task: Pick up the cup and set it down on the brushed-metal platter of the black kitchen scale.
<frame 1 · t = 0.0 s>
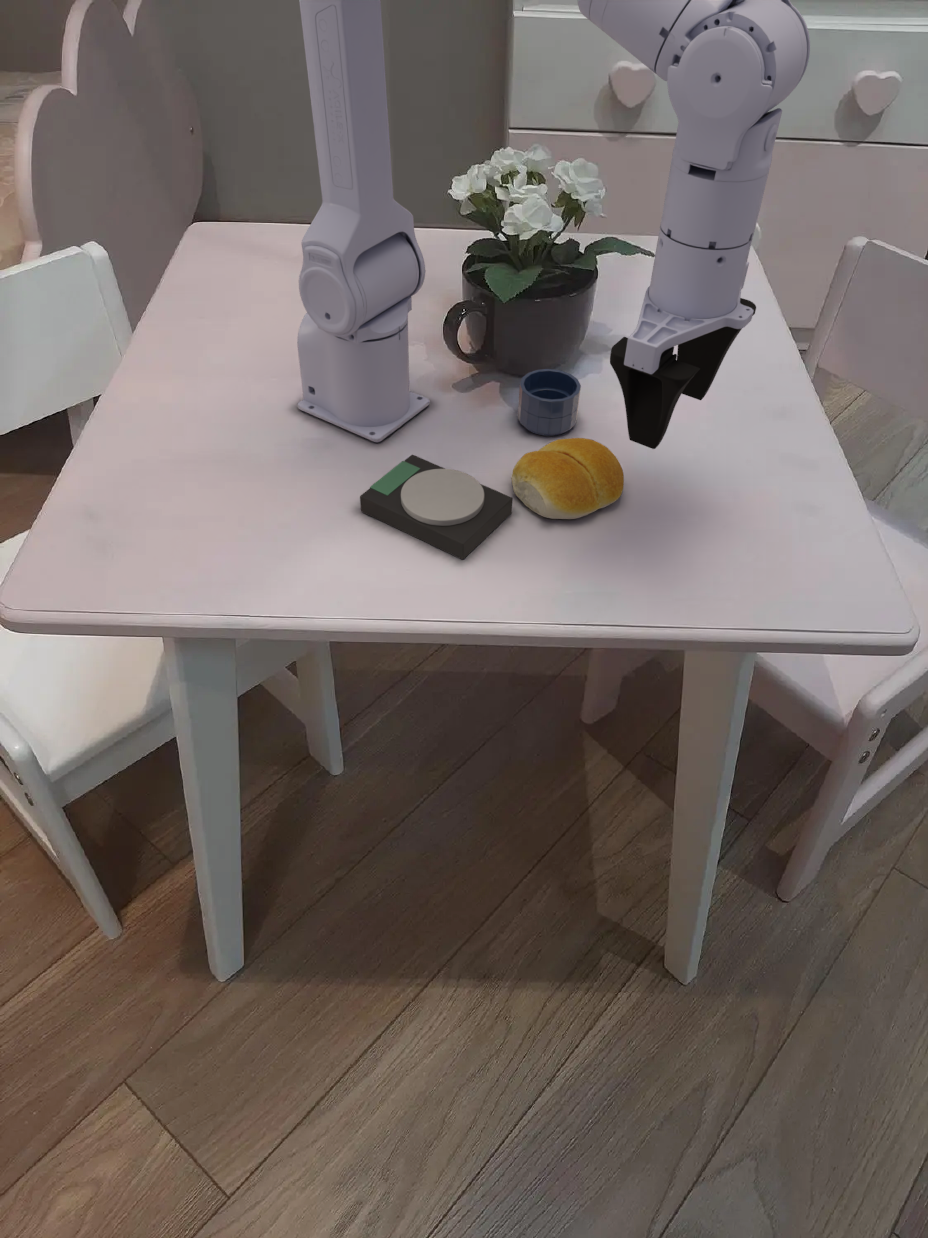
hand: (667, 417, 68), 10 cm above the table, tool pointing down, fingers open, 7 cm apart
scale: (436, 512, 76), on the table
bread roll: (565, 493, 78), on the table
cup: (546, 421, 85), on the table
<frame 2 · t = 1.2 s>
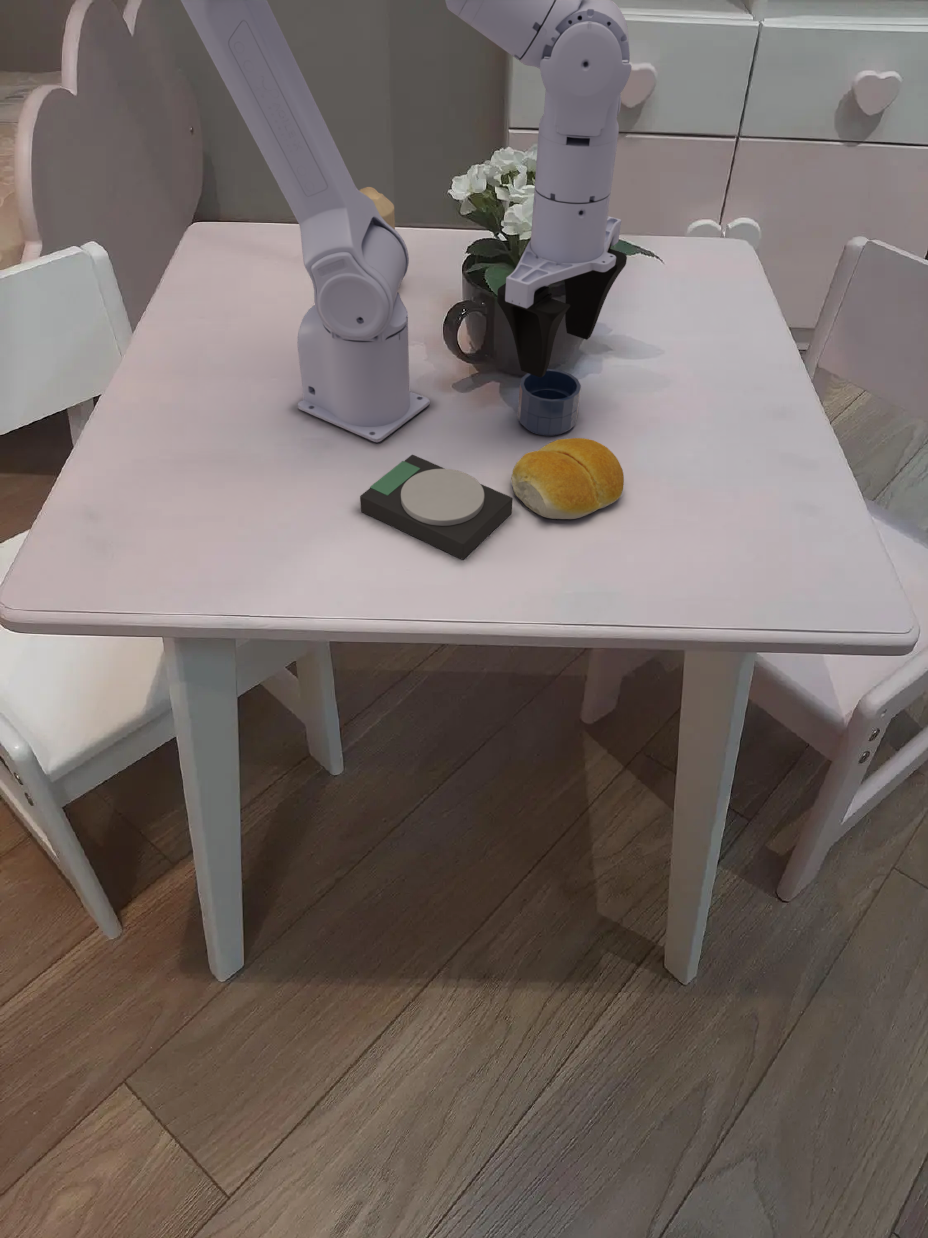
hand: (556, 353, 80), 7 cm above the table, tool pointing down, fingers open, 7 cm apart
nothing on the table moved.
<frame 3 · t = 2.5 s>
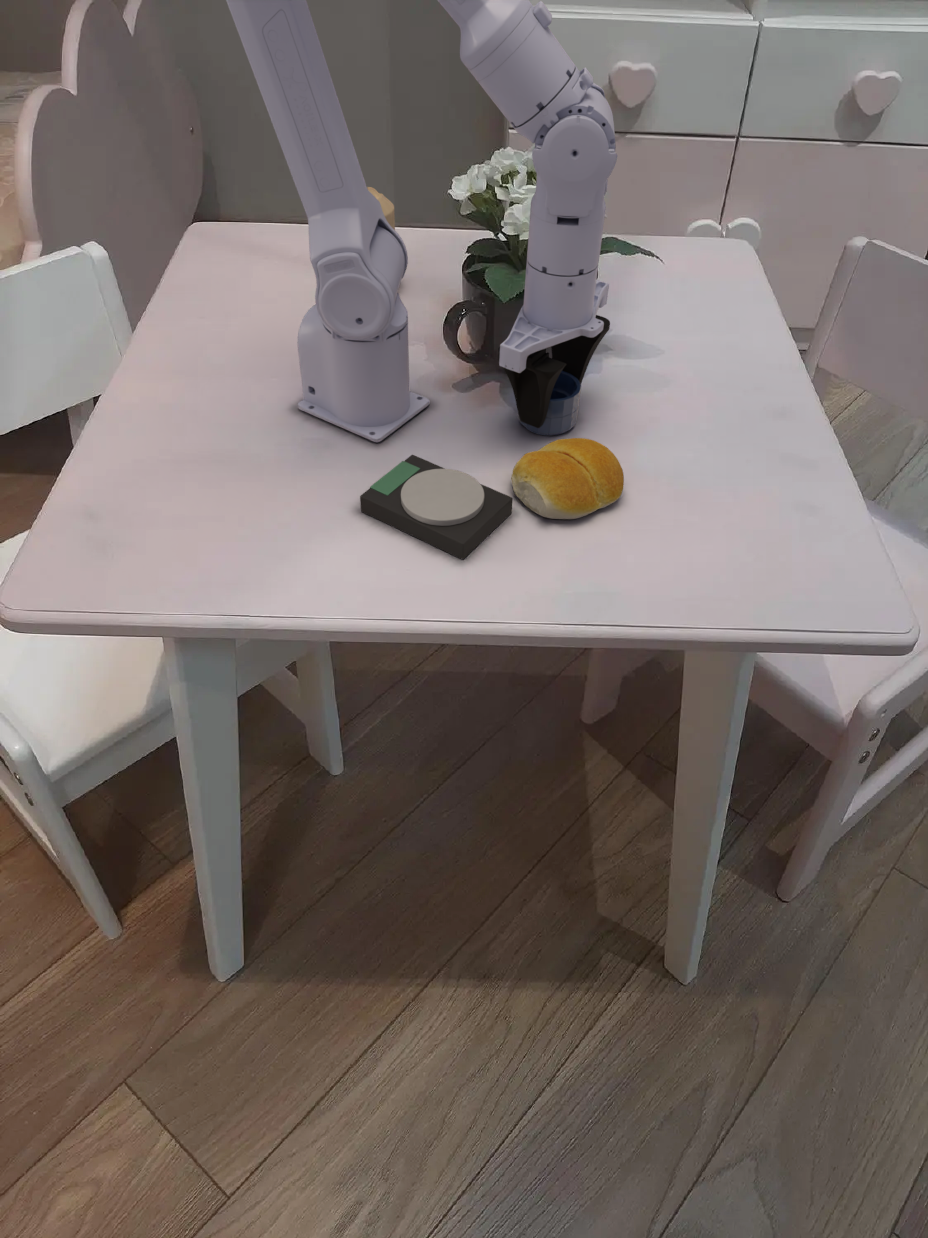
hand: (548, 408, 84), 1 cm above the table, tool pointing down, fingers closed on cup, 5 cm apart
cup: (546, 421, 85), on the table, touching gripper
everything else where it was.
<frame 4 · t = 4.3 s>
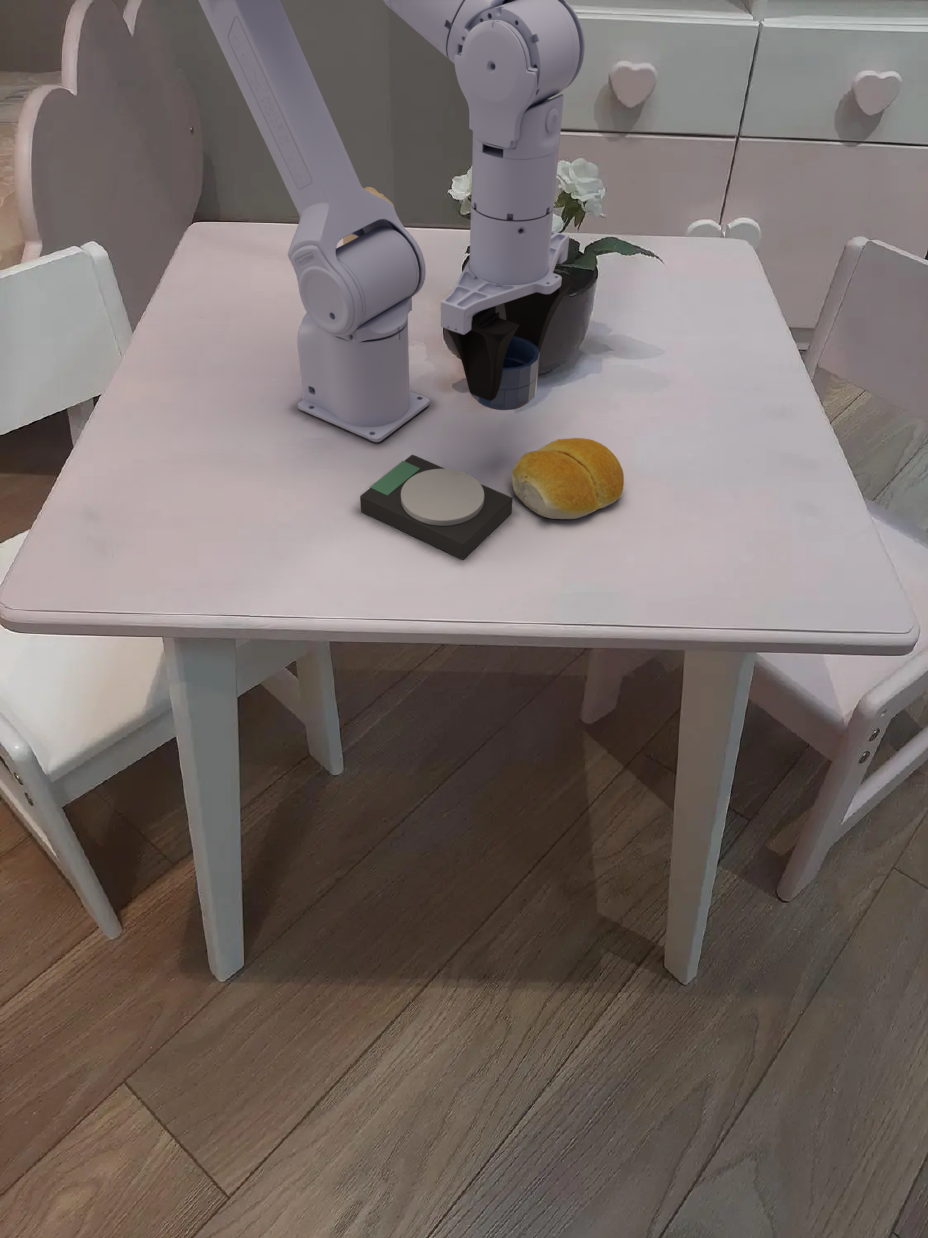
hand: (502, 379, 74), 8 cm above the table, tool pointing down, fingers closed on cup, 5 cm apart
cup: (502, 394, 75), point 7 cm above the table, touching gripper
everything else where it was.
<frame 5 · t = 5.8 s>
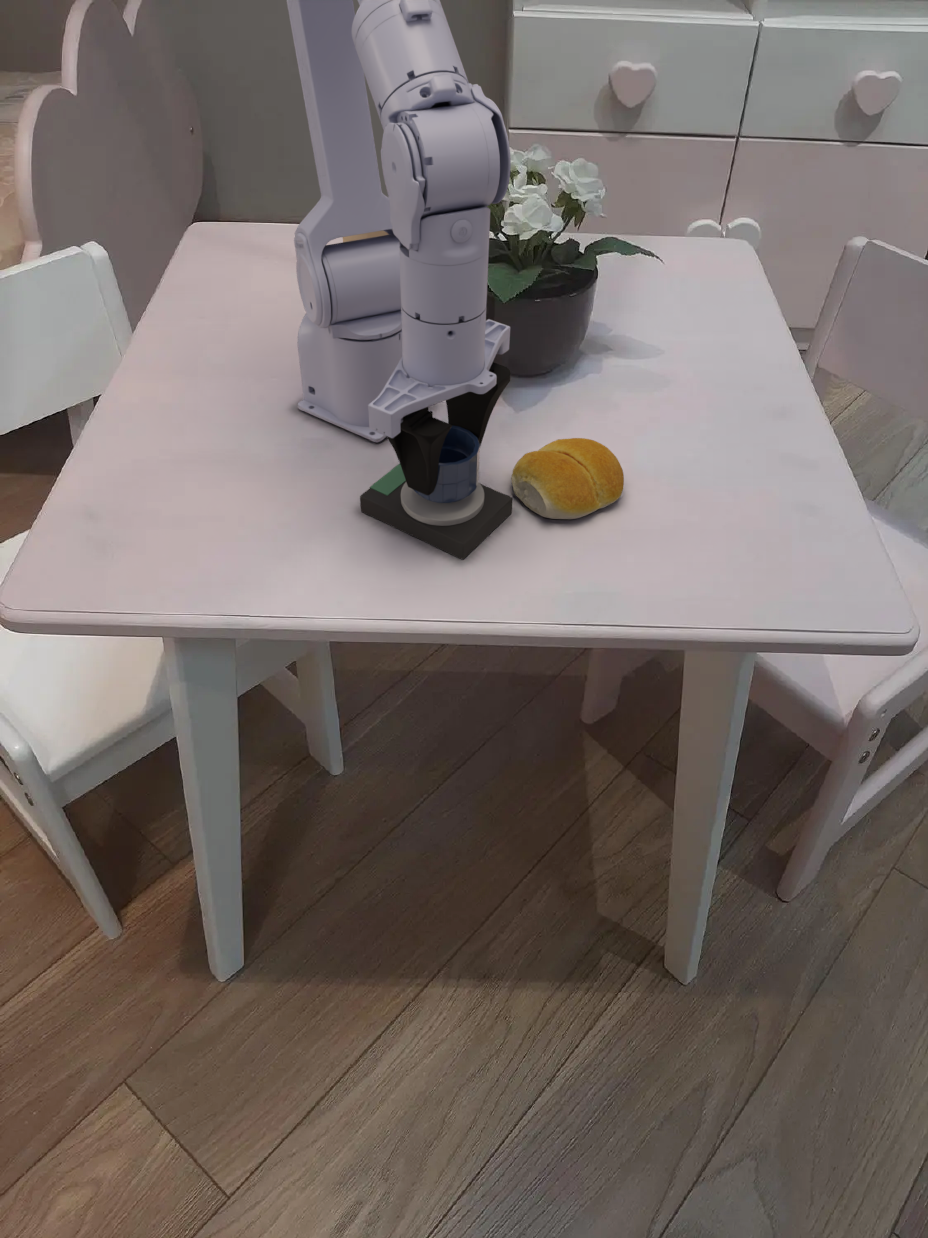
hand: (442, 470, 72), 4 cm above the table, tool pointing down, fingers closed on cup, 5 cm apart
cup: (443, 484, 73), point 3 cm above the table, touching gripper
everything else where it was.
when the fingers open (4 cm above the table, at t = 6.6 s): cup stays where it is, resting on scale.
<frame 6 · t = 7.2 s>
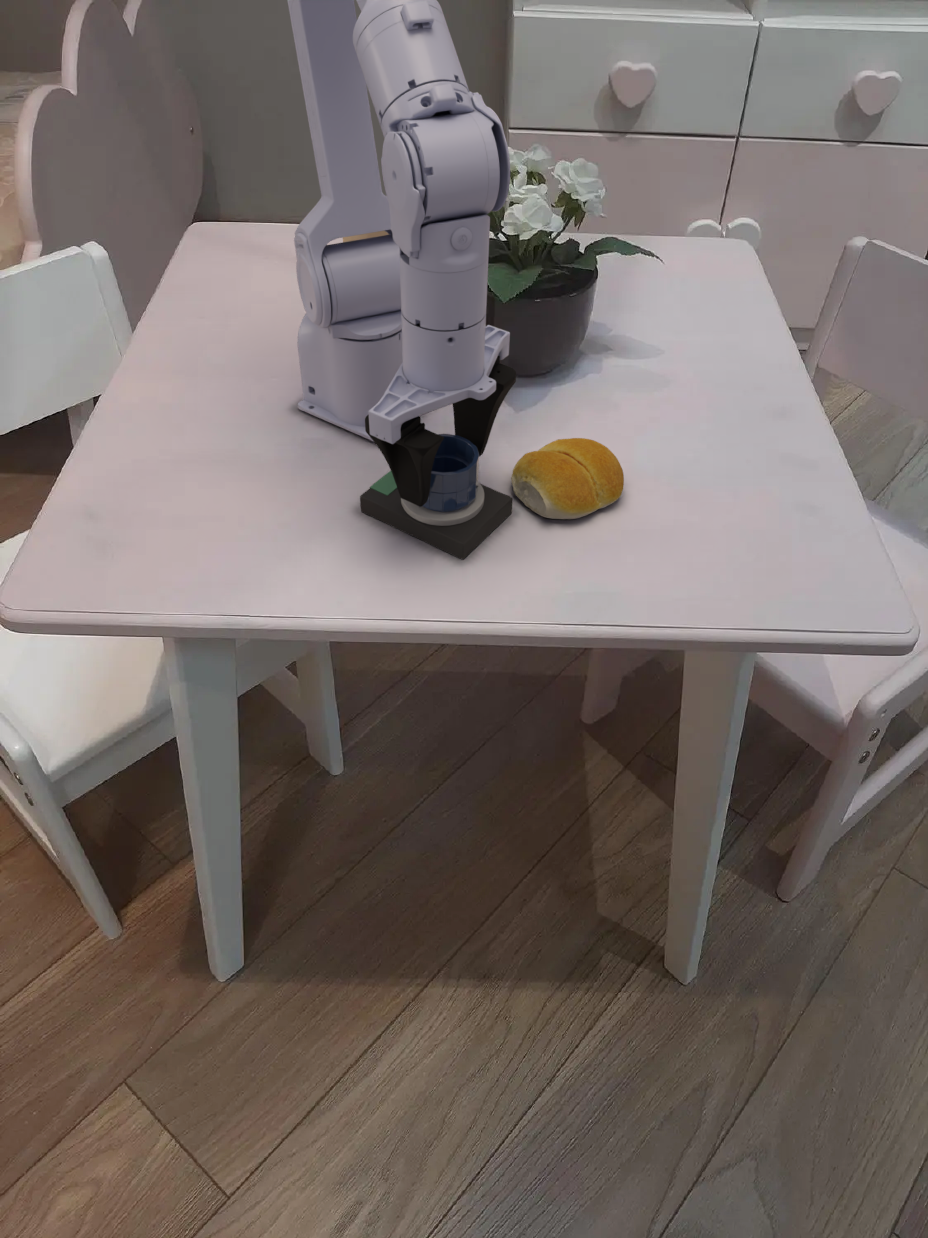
hand: (442, 474, 72), 4 cm above the table, tool pointing down, fingers open, 7 cm apart
cup: (443, 493, 74), point 2 cm above the table, touching scale
everything else where it was.
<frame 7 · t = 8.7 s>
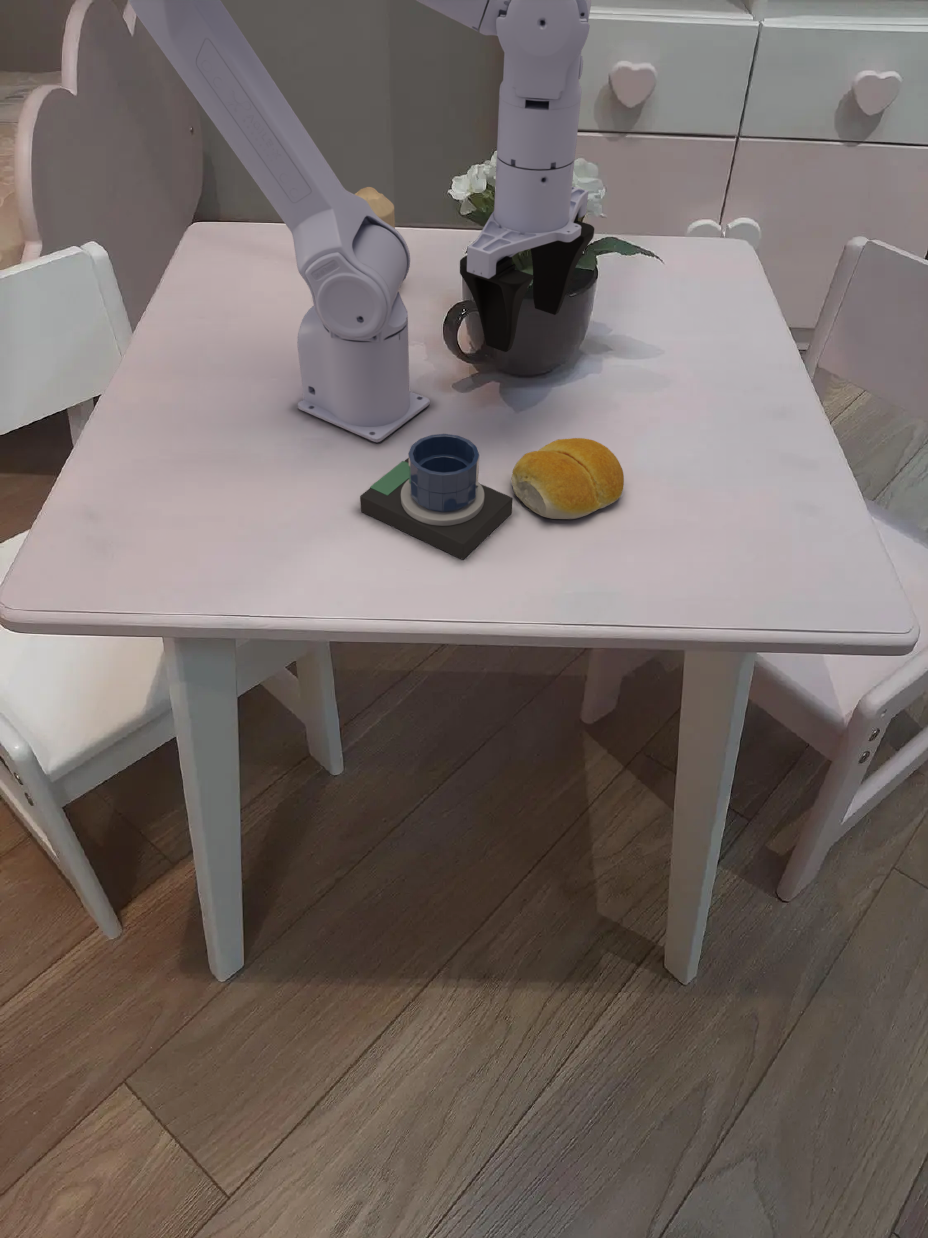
hand: (523, 328, 78), 9 cm above the table, tool pointing down, fingers open, 7 cm apart
nothing on the table moved.
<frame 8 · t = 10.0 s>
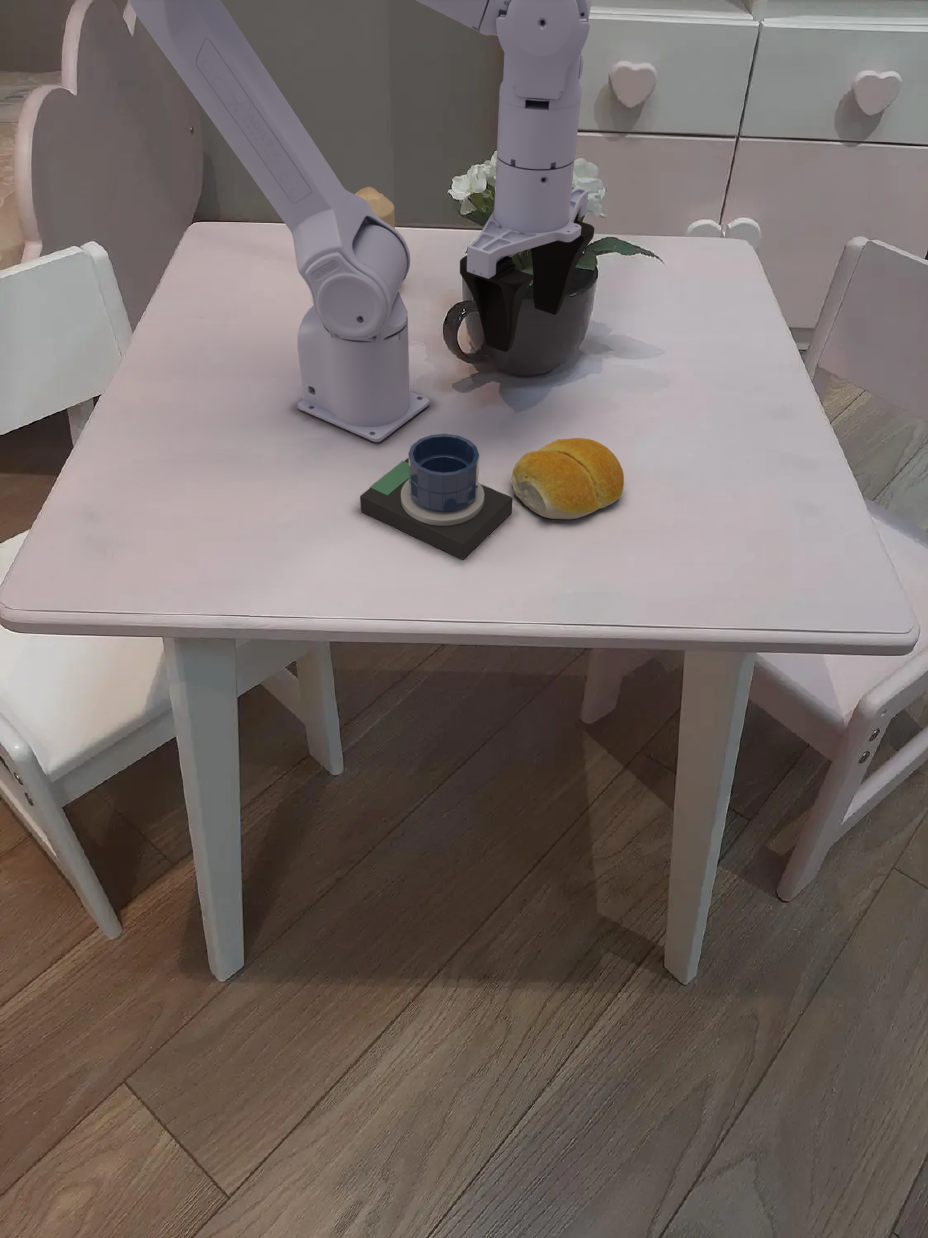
hand: (523, 328, 78), 9 cm above the table, tool pointing down, fingers open, 7 cm apart
nothing on the table moved.
at the end: cup 0.1 cm off-centre on the scale, point 2.2 cm above the scale's base; cup tilted 0°; the gripper is holding nothing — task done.
